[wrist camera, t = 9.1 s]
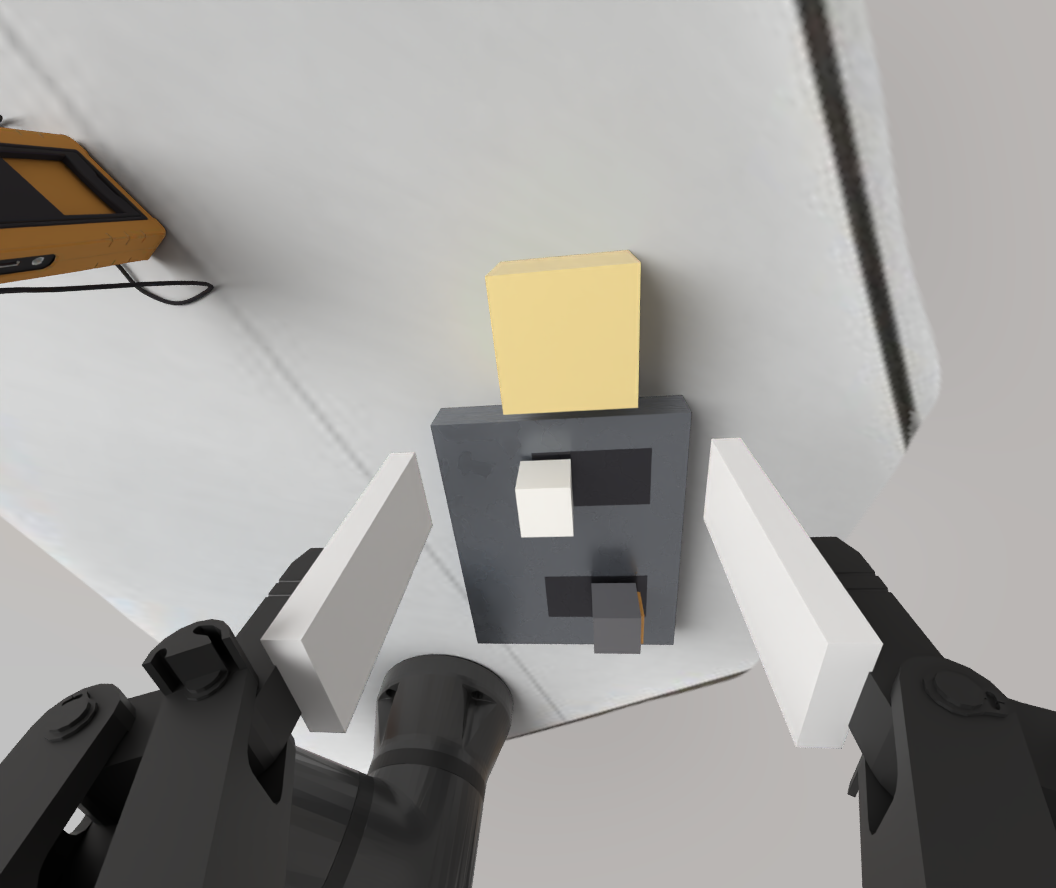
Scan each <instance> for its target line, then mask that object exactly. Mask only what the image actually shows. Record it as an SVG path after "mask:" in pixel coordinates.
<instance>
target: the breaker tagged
mask: <svg viewBox="0 0 1056 888" xmlns="http://www.w3.org/2000/svg"><path fill="white" fill-rule="evenodd" d="M591 587H592V611H593V632H594V652H595V653H618V654H640V649H641V644H643V638H644V611H643V606H642V600H641V594H640V592H637V589H636V583H591Z"/></svg>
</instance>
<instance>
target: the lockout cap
mask: <svg viewBox="0 0 1056 888" xmlns="http://www.w3.org/2000/svg"><path fill="white" fill-rule="evenodd" d="M640 272H641V262H640V261H639V260H638V259H637V258H636V257H635V256H634V255H633V254H632V253H631V252H630V251H629V250H623V251H612V252H601V253H591V254H580V255H569V256H558V257H548V258H537V259H526V260H515V261H505V262H500V263H499V264H497V265H496V266H495V267H494V268H493V269H492V270H491V271H490V272H489V273H488V274H487V275H486V276H485V280H486V287H487V295H488V302H489V310H490V318H491V325H492V333H493V340H494V348H495V355H496V363H497V370H498V378H499V385H500V393H501V400H502V408H503V415H509V414H528V413H547V412H566V411H585V410H604V409H622V408H638V383H639V328H640Z"/></svg>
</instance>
